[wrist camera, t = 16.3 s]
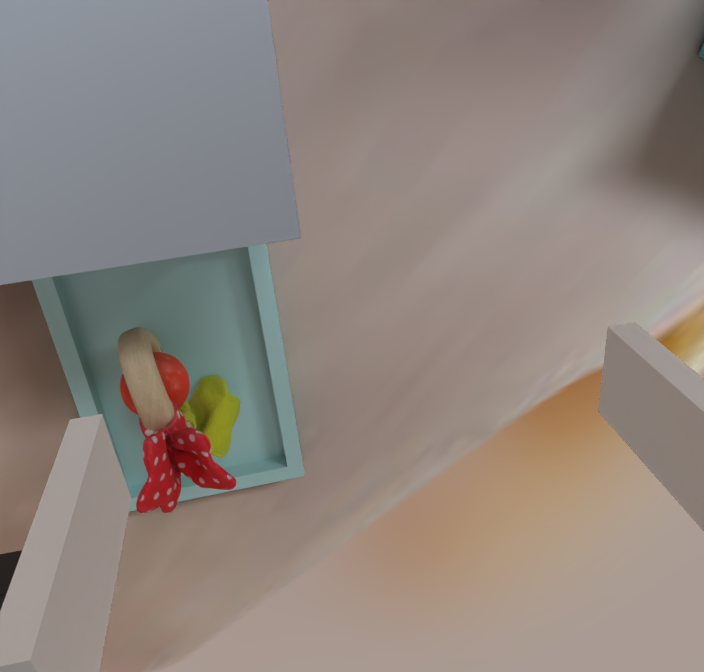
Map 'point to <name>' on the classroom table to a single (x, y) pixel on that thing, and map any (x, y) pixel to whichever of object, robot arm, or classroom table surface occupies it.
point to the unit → (138, 133)
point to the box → (702, 52)
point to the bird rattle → (175, 420)
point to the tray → (182, 353)
